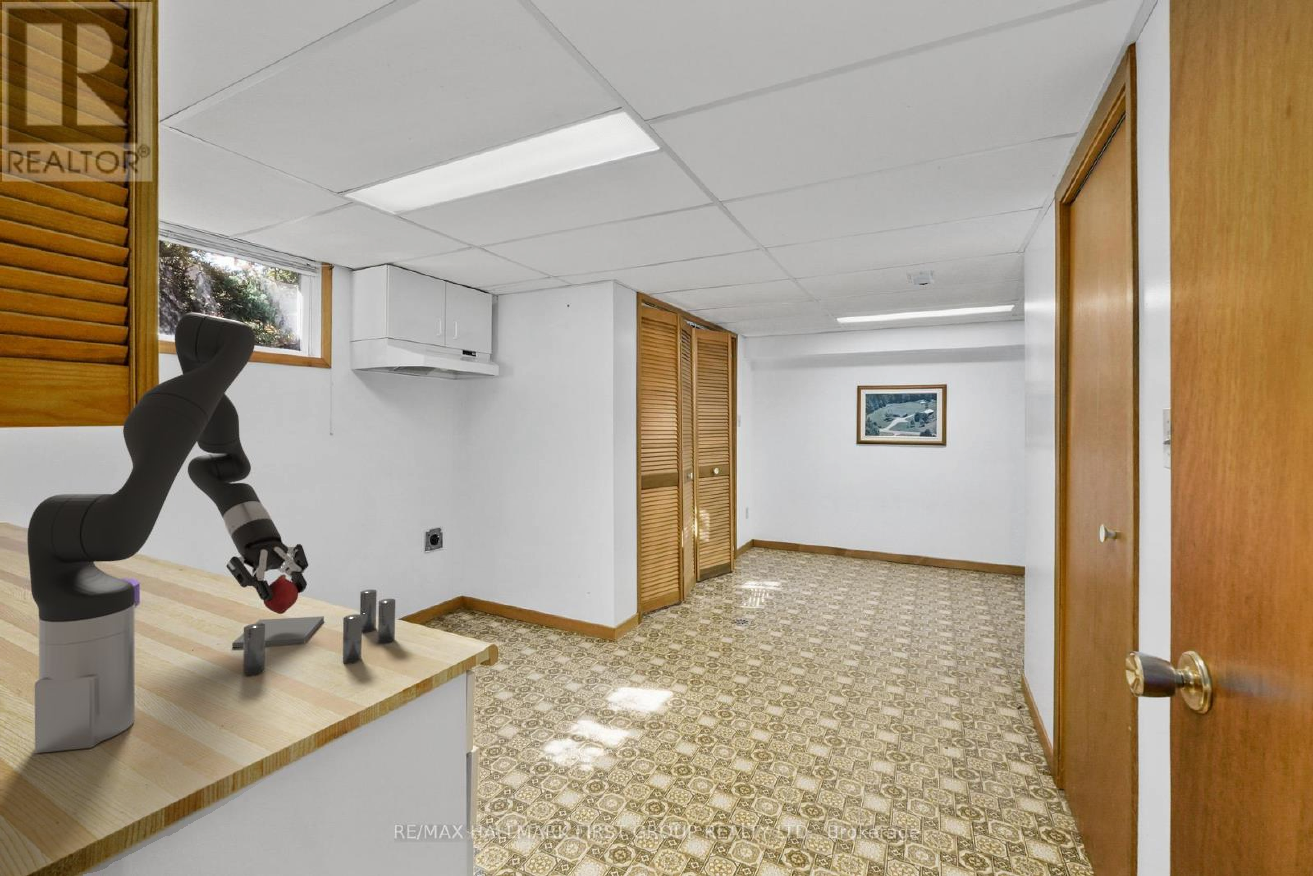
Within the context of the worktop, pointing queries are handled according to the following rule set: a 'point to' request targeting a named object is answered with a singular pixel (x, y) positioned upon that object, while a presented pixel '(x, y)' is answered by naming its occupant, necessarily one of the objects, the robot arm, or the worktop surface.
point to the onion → (282, 595)
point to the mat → (286, 630)
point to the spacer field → (351, 632)
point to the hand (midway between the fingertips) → (286, 594)
